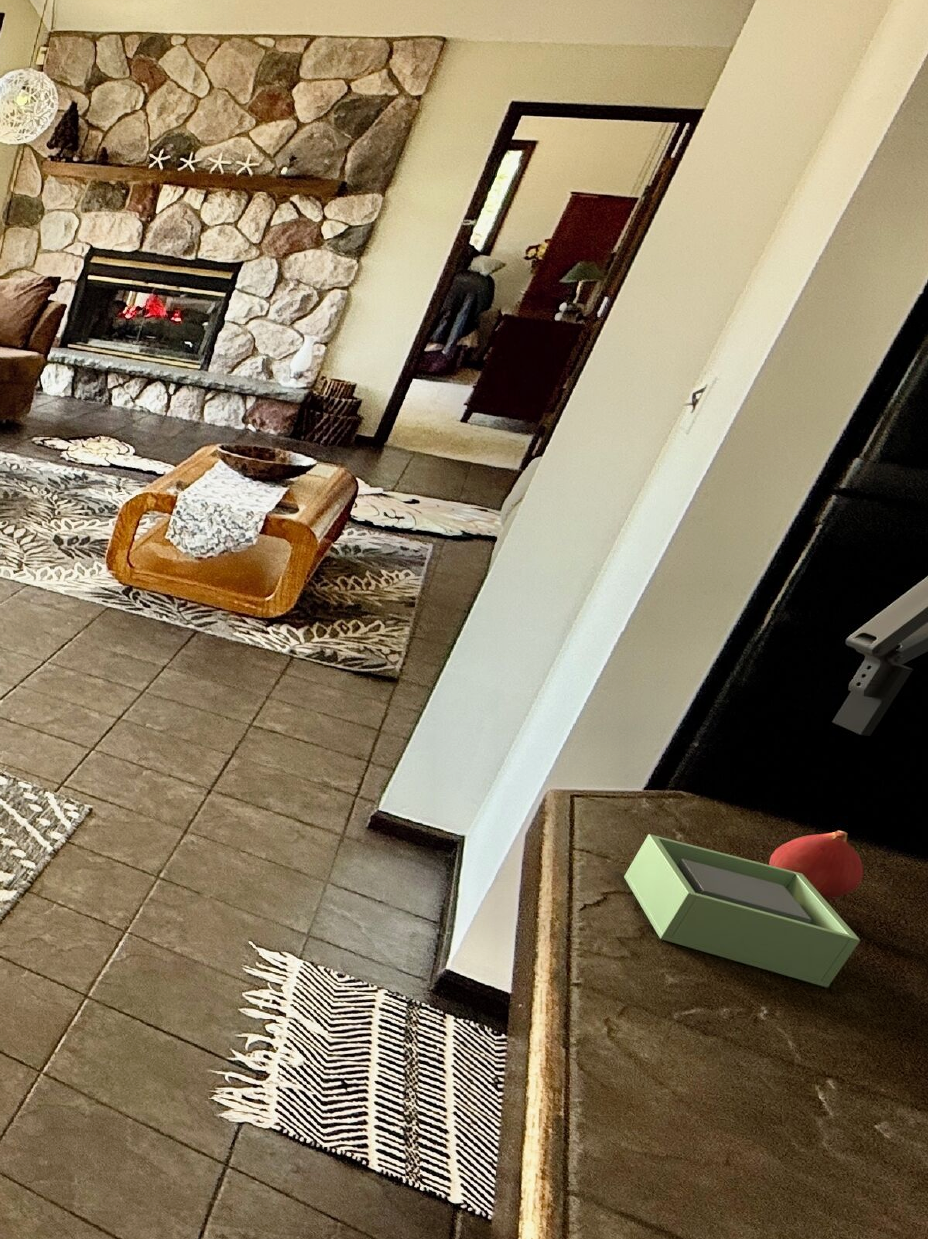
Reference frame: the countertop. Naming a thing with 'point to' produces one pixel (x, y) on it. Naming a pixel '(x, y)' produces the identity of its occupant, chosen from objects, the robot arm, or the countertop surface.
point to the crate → (739, 914)
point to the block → (742, 890)
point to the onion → (822, 862)
